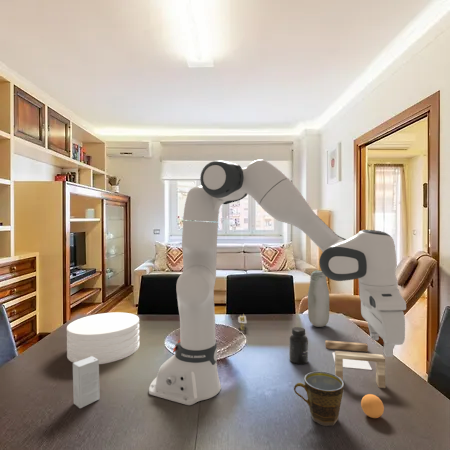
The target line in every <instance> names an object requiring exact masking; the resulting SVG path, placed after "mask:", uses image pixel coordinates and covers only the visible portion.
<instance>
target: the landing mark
mask: <svg viewBox="0 0 450 450" xmlns="http://www.w3.org/2000/svg"><path fill="white" fill-rule="evenodd" d="M332 357H333V361H334V362H335V351H334V352H333V351H332ZM345 368H346V369H353V370H356V369H357V370H368V371H372V370H373V368H372V367H371V365H370V363H369V361H361V360H349V359H343V369H345Z"/></svg>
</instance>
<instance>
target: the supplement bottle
mask: <svg viewBox="0 0 450 450" xmlns="http://www.w3.org/2000/svg"><path fill="white" fill-rule="evenodd" d="M291 328H292V329H291V335H290V337H289V349H288V350H289V351H288V352H289V361H290V362H291V363H292V364H295V365H305V364H307V363H308V362H309V339H308V337H307V336H306V328H304V327H299V326H295V327H291Z"/></svg>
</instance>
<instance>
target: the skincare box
mask: <svg viewBox="0 0 450 450" xmlns="http://www.w3.org/2000/svg"><path fill="white" fill-rule="evenodd" d="M72 386H73V391H72V392H73V405H75V406H76V407H77V408H78V409H83V408H84V407H86V406H89V405H90V404H93V403H94V402H96V401H99V400H100V399H101V398H100V397H101V395H100V394H101V393H100V364H99V360H98V359H96V358H95V357H93V356H91V357H88V358H86V359H83V360H80V361H77V362H75V363H73V362H72Z"/></svg>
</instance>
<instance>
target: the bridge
mask: <svg viewBox="0 0 450 450" xmlns="http://www.w3.org/2000/svg"><path fill="white" fill-rule="evenodd" d="M334 352H335V361H334V375H336V376H338V377H339V378H340V379H341V380H342V381H343V382H344V376H343V375H344V367H343V359H349V360H361V361H368V362H374V363H375V383H376V385H377V387H378V388H380V389H386V358H385V355H384V354H378V353H368V352H367V353H366V352H356V351H355V352H353V351H352V352H351V351H345V350H334Z"/></svg>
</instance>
